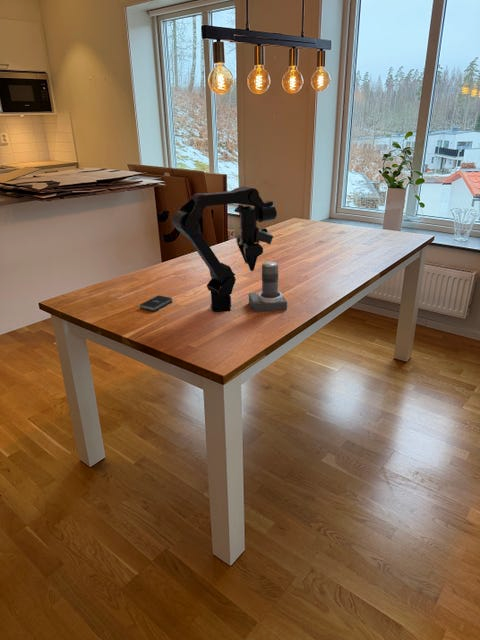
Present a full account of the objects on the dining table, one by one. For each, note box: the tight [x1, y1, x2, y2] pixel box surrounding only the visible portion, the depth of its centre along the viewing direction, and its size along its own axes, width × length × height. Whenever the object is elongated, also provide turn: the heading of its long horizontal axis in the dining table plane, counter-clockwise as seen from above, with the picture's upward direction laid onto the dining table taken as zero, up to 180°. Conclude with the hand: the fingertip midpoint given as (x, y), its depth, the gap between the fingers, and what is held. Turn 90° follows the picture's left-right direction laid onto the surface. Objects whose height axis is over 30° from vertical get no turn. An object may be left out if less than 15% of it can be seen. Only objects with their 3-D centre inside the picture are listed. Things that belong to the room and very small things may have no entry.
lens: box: [261, 261, 279, 298], centre depth 157 cm, size 6×6×13 cm
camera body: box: [248, 290, 288, 313], centre depth 160 cm, size 12×9×4 cm
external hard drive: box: [139, 294, 173, 313], centre depth 164 cm, size 7×11×2 cm, turn 150°
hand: (249, 267), depth 161 cm, fingers open, 9 cm apart
